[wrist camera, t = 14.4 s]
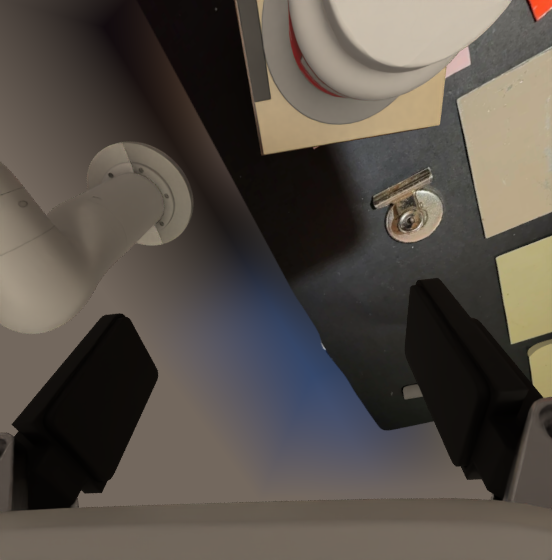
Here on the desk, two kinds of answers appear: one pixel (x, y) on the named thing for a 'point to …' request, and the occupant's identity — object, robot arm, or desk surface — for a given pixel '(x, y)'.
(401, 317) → the desk surface
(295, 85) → the scale
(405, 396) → the gray half cylinder
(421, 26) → the pill bottle
